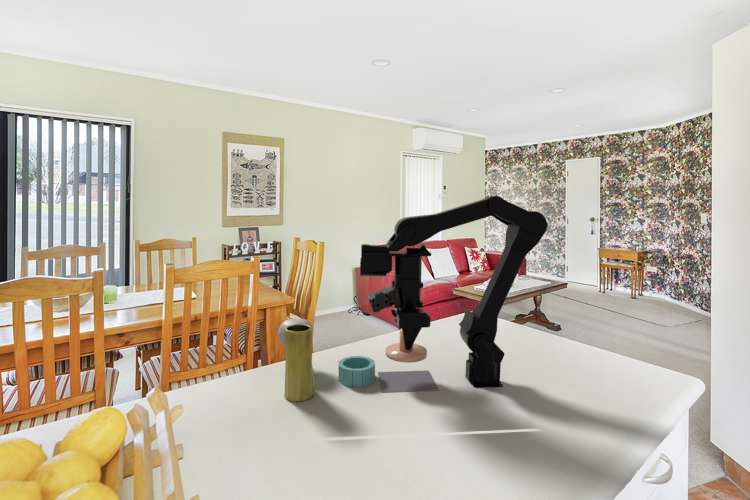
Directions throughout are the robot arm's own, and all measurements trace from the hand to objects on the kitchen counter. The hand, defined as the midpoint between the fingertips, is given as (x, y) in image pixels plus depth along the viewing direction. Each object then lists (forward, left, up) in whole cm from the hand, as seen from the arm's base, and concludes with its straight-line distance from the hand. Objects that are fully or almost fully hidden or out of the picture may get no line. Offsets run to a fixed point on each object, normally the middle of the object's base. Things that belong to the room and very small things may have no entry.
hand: (406, 347), depth 88 cm
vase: (+23, +4, -8) cm, 25 cm away
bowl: (+11, -2, -8) cm, 14 cm away
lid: (0, 0, -2) cm, 2 cm away
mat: (0, 0, -8) cm, 8 cm away
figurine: (+25, -9, -8) cm, 28 cm away
